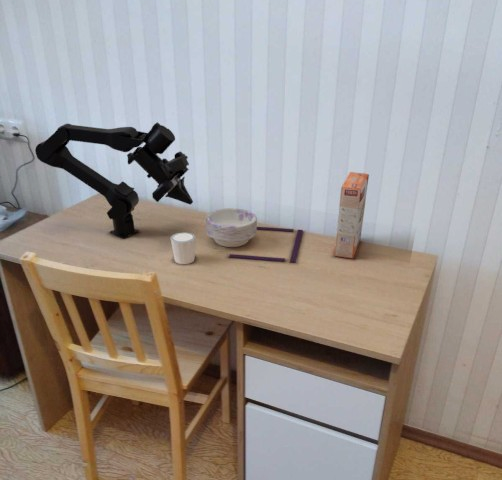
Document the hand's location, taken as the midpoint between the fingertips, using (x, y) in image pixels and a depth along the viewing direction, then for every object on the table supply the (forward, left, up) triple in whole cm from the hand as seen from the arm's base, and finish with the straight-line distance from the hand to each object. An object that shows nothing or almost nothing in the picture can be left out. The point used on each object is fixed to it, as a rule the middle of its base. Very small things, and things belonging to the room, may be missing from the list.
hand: (191, 203), depth 158 cm
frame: (+20, +11, -11) cm, 26 cm away
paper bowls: (+10, +6, -11) cm, 17 cm away
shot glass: (+8, -12, -11) cm, 19 cm away
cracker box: (+40, +24, -11) cm, 48 cm away
